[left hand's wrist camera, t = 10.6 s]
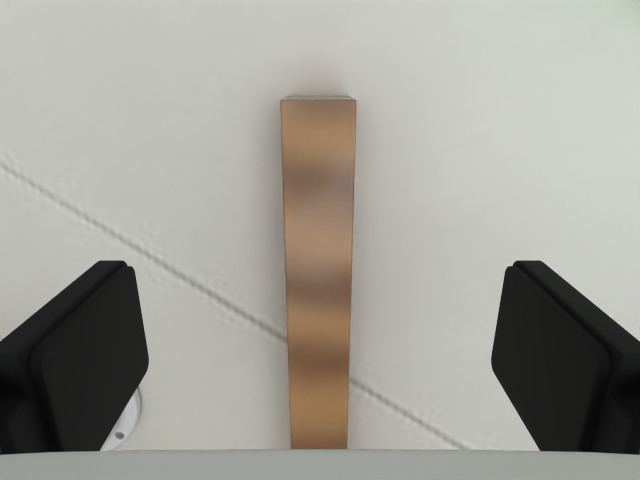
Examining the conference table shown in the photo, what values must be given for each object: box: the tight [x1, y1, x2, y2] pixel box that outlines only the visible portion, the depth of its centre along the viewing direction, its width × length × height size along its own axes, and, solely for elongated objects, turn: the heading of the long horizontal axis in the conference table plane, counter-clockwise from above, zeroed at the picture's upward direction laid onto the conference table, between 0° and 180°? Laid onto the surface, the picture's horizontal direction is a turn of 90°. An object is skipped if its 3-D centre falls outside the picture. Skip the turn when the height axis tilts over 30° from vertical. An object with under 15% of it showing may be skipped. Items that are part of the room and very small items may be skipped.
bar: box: [281, 96, 356, 449], centre depth 39 cm, size 55×5×6 cm, turn 0°
